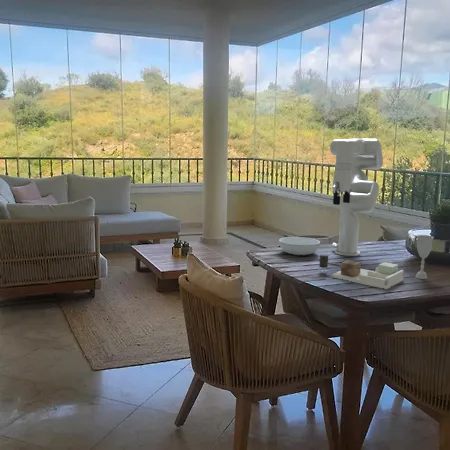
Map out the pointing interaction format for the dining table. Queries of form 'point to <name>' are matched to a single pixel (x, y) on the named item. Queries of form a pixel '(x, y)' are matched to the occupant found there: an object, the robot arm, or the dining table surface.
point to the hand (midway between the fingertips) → (341, 203)
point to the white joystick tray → (376, 276)
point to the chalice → (423, 252)
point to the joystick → (342, 266)
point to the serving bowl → (299, 245)
